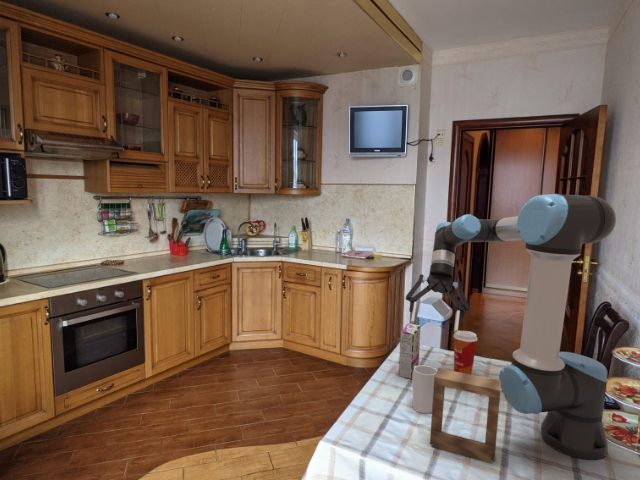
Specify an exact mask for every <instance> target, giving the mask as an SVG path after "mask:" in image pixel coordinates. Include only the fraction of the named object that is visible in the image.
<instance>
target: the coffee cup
mask: <svg viewBox="0 0 640 480" xmlns="http://www.w3.org/2000/svg"><path fill="white" fill-rule="evenodd" d="M452 336H453V371H455V372H460V373H465V374H470V375H473V369H474V368H473V367H474V361H475V353H476V346H477V341H478V339H479V338H478V337H477V334H476V333H475V332H473V331H468V330H467V331H466V330H458V331H457V332H454V334H453V335H452Z"/></svg>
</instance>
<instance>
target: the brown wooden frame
mask: <svg viewBox="0 0 640 480" xmlns="http://www.w3.org/2000/svg"><path fill="white" fill-rule="evenodd" d="M436 370H437V372H436V375H435V377H434V389H433V404H432V412H431V419H430V420H431V423H430V434H429V435H430V439H429V444H430V445H431V448H435V449H438V450H442V451H445V452H449V453H452V454H457V455H460V456H463V457H467V458H471V459H475V460H477V461H481V462H485V463H488V464H492V462H495V459H496V458H495V457H496V447H497V437H498V436H497V435H498V424H499V412H500V402H501V401H500V400H501V391H502V390H501V381H500V380H498V379H493V378H489V377H485V376H480V375H475V374H472V375H470V374H465V373H460V372H455V371H454V370H451V369H445V368H439V367H438V368H437V369H436ZM445 388H449V389H454V390H459V391H463V392H467V393H472V394H476V395H480V396H486V397H488V403H487V415H486V427H485V428H486V429H485V439H484V442H481V441H478V440H475V439H471V438H466V437H462V436H460V435H454V434H451V433H448V432H443V431H442V430H443V420H444V419H443V417H444V401H445V390H446V389H445Z"/></svg>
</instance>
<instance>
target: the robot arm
mask: <svg viewBox="0 0 640 480" xmlns="http://www.w3.org/2000/svg"><path fill="white" fill-rule="evenodd" d="M616 223H617V216H616V212H615V210H614V208H613V206H612V205H611V204H610V203H609V202H608V201H607V200H605V199H603V198H601V197H598V196H594V195H580V194H579V195H578V194H576V195H575V194H558V193H553V194H551V193H550V194H539V195H536V196H534V197H531V198H530V199H528V201H527V202H526V203H524V205H523V206H522V208H521V209H520V211H519V212H518V215H516V216H515V215H514V216H511V217H503V218H495V219H491V218H490V219H489V218H488V219H483V218H482V219H481V218H477V217H476V216H474V215H473V214H469V213H467V214H464V215H462V216H459V217H458V218H456V219H455V220H454V221H453V222H449V221H444V222H441V223H438V224H437V226H436V229H435V233H434V242H433V247H432V248H433V249H432V253H431V263H430V268H429V275H428V276H425V275H424V274H423V273H421V274H420V275H419V278H418V280H416V283H415V284H414V285H413V286H412V287H411V289H410V290H409V291H408V293H407V294H406V296H405V300H406V301H408V302H409V308H408V309H409V311H408V312H410V313H411V320H410V324H414V322H415V317H416V316H415V315H416V311H417V304H418V302H417V301H418V300H419V299H421V298H422V297H423V296H425V295H426V294H427V293H429V292H430V291H433V292H434V293H440V294H444V293H445V295H446V297H448V298H449V300H450V302H452V304H453V305H454V307H455V309H456V312H455V317H454V319H455V320H454V325H453V326H454V328H453V333H455V332H457V331H459V323H462V321H463V317H464V313H469V311H470V310H471V308H470V305H469V302H468V300H467V297H466V295H465V293H464V291H463V283H462V282H461V281H458V282H455V281H453V277H454V276H453V275H454V267H455V260H456V251H457V248H458V246H461V245H462V244H464V243H468V242H469V243H472V242H473V243H485V242H486V243H506V242H514V241H515V242H516V241H523V242H525V249H524V250H526V251H527V253H528V254H529V256H530V262H529V263H530V265H529V271H528V282H527V289H526V298H525V306H524V314H523V320H522V321H523V322H522V330H521V331H522V332H521V338H520V345H519V346H520V348H518V349H515V350H514V351H513V352H512V357H511V364H507V365H505V366H503V368H501V369H500V372H499V378H498V379H499V380H500V381H501V390H500V391H501V392H502V394H503V396H504V398H505V400H506V402H507V403H508V404H509V406H510V407H512V409H514V411H516V412H518V413H520V414H525V415H528V414H530V415H532V414H534V415H539V414H540V413H542V414H543V413H546V414H545V417H544V419H543V420H542V423H541V425H540V431H539V432H540V437H541V438H542V440H543V441H544V442H545V443H546V444H547V445H549V446H550V447H551V448H552V449H554V450H556V451H559V452H560V453H563V454H564V455H568V456H571V457H574V458H577V459H578V458H579V459H583V460H591V461H592V460H601V459H603V458H605V457H606V456H607V454H608V446H609V443H608V439H607V435H606V432H605V428H604V424H603V415H604V408H605V401H606V400H605V399H606V391H607V385H608V370H607V368H606V366H605V365H604V364H603V363H602V362H600V361H598V360H595V359H594V358H591V357H589V356H585V355H583V354H578V353H576V352H575V353H574V352H570V351H560V350H561V344H562V343H561V342H562V336H563V335H562V334H563V329H564V320H565V314H566V307H567V299H568V293H569V285H570V278H571V270H572V264H573V263H572V262H573V261H574V260H575V259H577V258H578V257H580V256H581V254H582V246H583V245H589V244H594V243H595V244H596V243H598V242H601V241H603V240H604V239H606V238H607V237H608V236H610V235H611V233H612V232H613V231H614V229H615V227H616ZM425 282H426V283H427V284H428V285H426V287H424V288H423V289H422V290H420V291H419V292H418V293H417V294H415V293H416V291H417V290H418V289H419V288H420V287H421V285H422V283H423V284H424V283H425ZM452 287H454V289H455V290H456V293H457V295H458V298H459V299H458V298H457V296H455V294H454V292H453V290H452ZM414 294H415V295H414ZM413 295H414V296H413ZM412 296H413V297H412ZM459 300H460V301H459ZM605 455H606V456H605ZM604 456H605V457H604Z"/></svg>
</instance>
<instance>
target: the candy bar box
mask: <svg viewBox="0 0 640 480" xmlns="http://www.w3.org/2000/svg"><path fill="white" fill-rule="evenodd" d="M420 339H421V325H420V324H414V323H407V324H406V326H405V327H403V329H402V330H401V331H400V340H399V360H398V362H399V363H398V377H401V378H403V377H404V378H405V379H410V380H412V374H413V370H414V366H419V365H420V364H419V363H420V345H421V343H420V342H421V340H420Z"/></svg>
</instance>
